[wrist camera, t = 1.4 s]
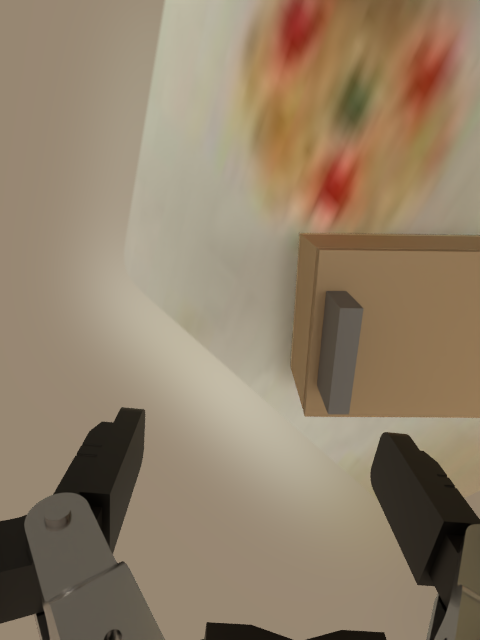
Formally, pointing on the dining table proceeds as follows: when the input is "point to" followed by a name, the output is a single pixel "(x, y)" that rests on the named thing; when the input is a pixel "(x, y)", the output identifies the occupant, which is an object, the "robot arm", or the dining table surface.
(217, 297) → the dining table surface
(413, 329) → the lid
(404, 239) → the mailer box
